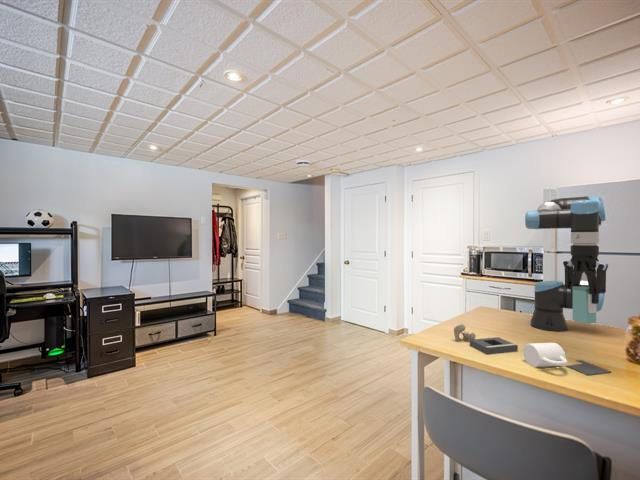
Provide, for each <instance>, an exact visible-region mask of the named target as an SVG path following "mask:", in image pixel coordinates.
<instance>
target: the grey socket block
mask: <svg viewBox="0 0 640 480" xmlns="http://www.w3.org/2000/svg"><path fill="white" fill-rule="evenodd" d="M469 346H470V347H472V348H474V349H475V350H477V351H479V352H481V353H483V354H485V355H497V354H498V355H499V354H506V353H507V354H508V353H517V352H518V351H519V350H518V346H519V345H518V344H516V343H513V342H511V341H508V340H506V339H503V338H502V337H497V336H496V337H486V338H475V339H472V340H470V342H469Z"/></svg>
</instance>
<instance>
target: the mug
mask: <svg viewBox="0 0 640 480" xmlns="http://www.w3.org/2000/svg"><path fill="white" fill-rule="evenodd" d="M522 356H523V358H524V361H525V362H526V364H529V365H530V366H532V367H534V368H545V367H563V366H567V365H568V362H569V361H568V360H567V357H566V353H565V350H564V348H563V347H562V346H561V345H560V344H558V343H556V342H538V343H536V342H535V343H532V342H531V343H526V344H525V345H524V346H523V348H522Z"/></svg>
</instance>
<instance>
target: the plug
mask: <svg viewBox="0 0 640 480" xmlns="http://www.w3.org/2000/svg"><path fill="white" fill-rule="evenodd" d="M572 289H573V309H572V321H573V322H578V323H581V324H587V325H588V324H589V325H590V324H597V312H596V313H588V294H589V293H590V288H589V287H586V286H573V287H572Z"/></svg>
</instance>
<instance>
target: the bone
mask: <svg viewBox="0 0 640 480" xmlns="http://www.w3.org/2000/svg"><path fill="white" fill-rule="evenodd" d="M465 329H466V326H465V324H462V323H461V324H458V325H456V326H454V328H453V334H454V335H453V336H454V338H455V342H458V343H459V342H468V343H470V340H472V339H476V333H474V332H471V333H469V331H466V330H465ZM460 334H461V335H462V338H461V337H460Z"/></svg>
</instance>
